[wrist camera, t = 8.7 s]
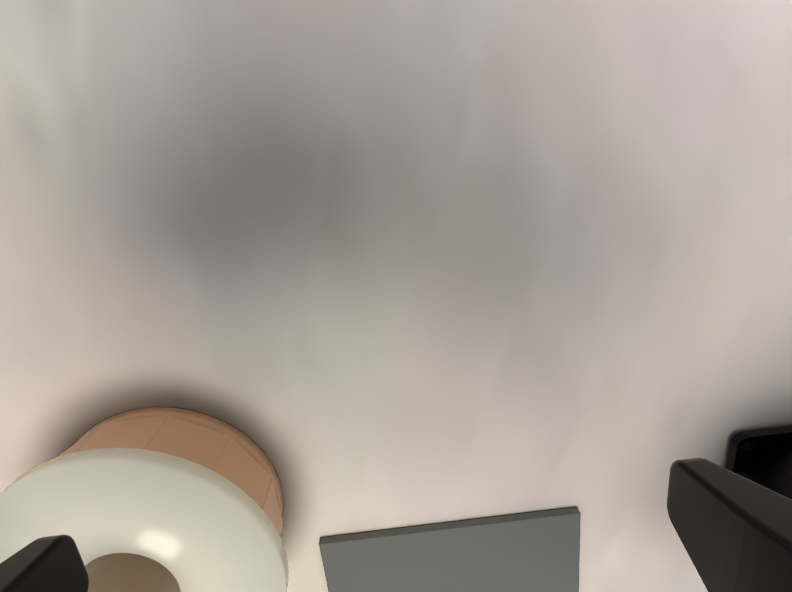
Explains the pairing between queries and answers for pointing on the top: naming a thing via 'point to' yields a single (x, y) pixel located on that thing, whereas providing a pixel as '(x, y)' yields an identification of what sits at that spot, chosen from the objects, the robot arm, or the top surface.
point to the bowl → (193, 449)
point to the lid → (146, 523)
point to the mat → (460, 556)
